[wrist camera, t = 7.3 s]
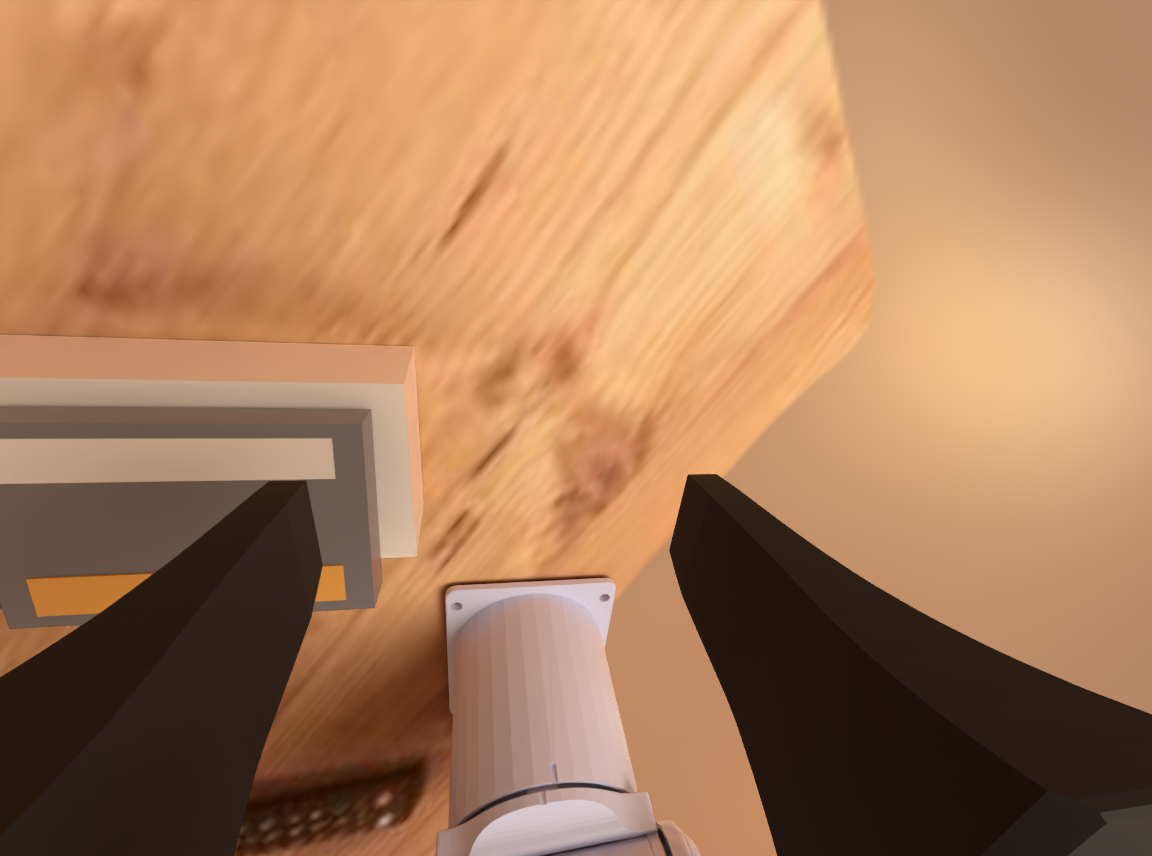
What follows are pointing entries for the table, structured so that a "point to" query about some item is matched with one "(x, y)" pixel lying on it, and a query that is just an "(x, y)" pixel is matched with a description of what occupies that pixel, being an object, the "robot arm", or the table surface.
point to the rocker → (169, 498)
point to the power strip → (240, 394)
